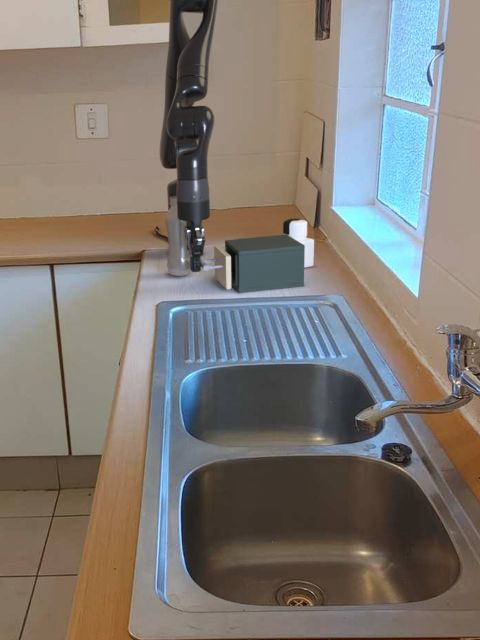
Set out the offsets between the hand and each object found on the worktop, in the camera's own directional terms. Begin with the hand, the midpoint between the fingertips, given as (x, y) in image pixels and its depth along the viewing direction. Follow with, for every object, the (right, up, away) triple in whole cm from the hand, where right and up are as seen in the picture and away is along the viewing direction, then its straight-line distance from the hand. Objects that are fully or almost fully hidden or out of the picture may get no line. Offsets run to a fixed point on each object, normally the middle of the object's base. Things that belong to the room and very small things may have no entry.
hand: (195, 271), depth 180 cm
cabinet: (+17, -2, +4) cm, 17 cm away
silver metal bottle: (-3, +1, +14) cm, 15 cm away
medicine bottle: (+27, +3, +16) cm, 32 cm away
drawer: (+11, -2, +3) cm, 11 cm away
